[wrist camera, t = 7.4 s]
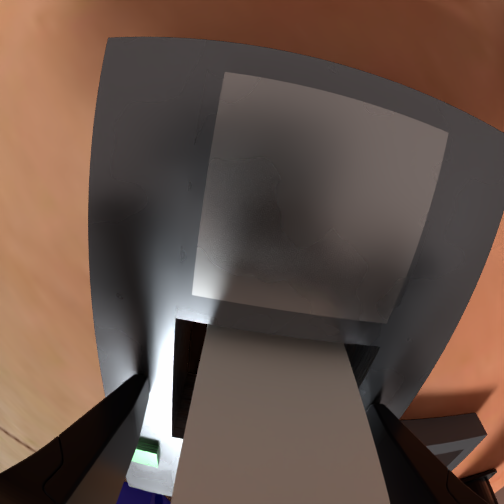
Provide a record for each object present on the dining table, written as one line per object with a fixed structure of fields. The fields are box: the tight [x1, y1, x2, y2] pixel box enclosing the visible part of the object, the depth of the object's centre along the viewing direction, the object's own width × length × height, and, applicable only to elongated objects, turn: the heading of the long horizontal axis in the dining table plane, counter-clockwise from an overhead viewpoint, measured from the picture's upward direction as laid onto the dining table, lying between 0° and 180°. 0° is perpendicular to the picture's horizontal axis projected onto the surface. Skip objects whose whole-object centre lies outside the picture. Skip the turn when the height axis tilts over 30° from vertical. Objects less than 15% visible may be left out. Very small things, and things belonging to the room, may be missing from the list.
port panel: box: [88, 37, 504, 497], centre depth 10 cm, size 10×18×4 cm, turn 170°
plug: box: [171, 324, 390, 504], centre depth 8 cm, size 4×4×9 cm
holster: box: [400, 413, 487, 471], centre depth 15 cm, size 8×8×2 cm
